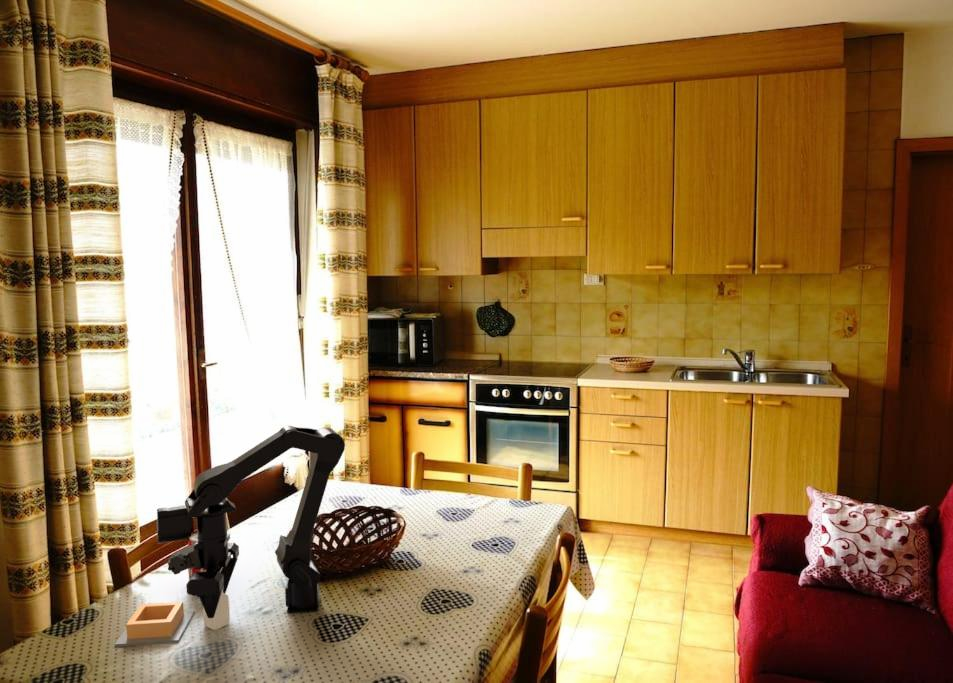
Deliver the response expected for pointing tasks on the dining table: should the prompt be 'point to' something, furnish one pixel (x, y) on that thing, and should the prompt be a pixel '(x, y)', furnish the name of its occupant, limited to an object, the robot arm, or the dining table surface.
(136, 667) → the dining table surface
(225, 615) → the pepper shaker
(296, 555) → the robot arm
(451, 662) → the dining table surface
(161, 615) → the collar
